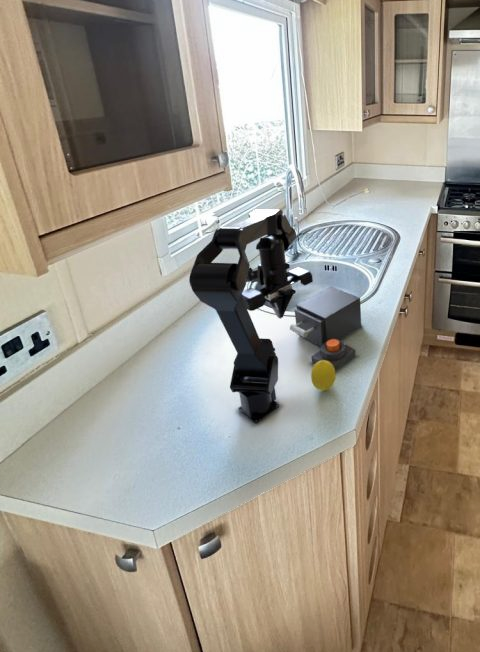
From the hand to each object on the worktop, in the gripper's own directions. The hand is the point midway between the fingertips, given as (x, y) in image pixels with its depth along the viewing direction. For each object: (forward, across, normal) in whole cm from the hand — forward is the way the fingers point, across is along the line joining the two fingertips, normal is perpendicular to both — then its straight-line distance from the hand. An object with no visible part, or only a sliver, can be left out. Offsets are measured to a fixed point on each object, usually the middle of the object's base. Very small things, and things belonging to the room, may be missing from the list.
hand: (280, 317), depth 102 cm
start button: (+8, -7, +11) cm, 16 cm away
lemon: (+12, +2, +17) cm, 21 cm away
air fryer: (+12, -16, 0) cm, 20 cm away
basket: (+11, -12, 0) cm, 17 cm away
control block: (+12, -7, +11) cm, 18 cm away
